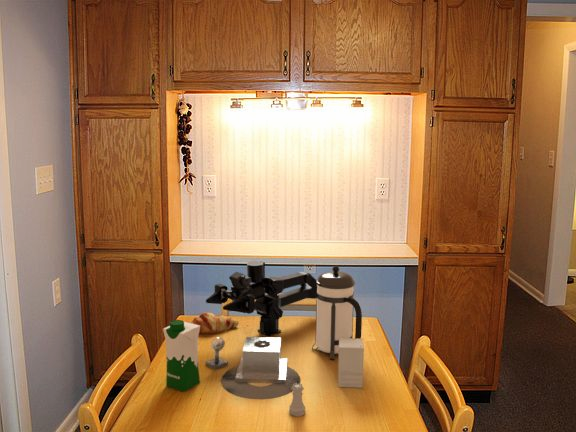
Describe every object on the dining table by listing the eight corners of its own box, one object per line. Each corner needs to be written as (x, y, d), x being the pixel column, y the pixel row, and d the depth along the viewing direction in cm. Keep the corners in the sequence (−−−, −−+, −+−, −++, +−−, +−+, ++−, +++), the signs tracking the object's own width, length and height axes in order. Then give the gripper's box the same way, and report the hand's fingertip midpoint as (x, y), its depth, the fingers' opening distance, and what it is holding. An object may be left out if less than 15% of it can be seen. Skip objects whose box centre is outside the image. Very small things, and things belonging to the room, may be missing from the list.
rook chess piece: (288, 408, 151) (288, 381, 149) (304, 408, 151) (304, 380, 150) (289, 417, 146) (289, 389, 145) (306, 416, 147) (306, 388, 145)
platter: (265, 356, 184) (265, 355, 184) (317, 381, 167) (317, 380, 167) (205, 378, 168) (205, 377, 168) (255, 408, 150) (255, 408, 150)
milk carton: (161, 386, 162) (159, 321, 159) (182, 374, 170) (180, 312, 166) (184, 394, 158) (183, 328, 154) (204, 382, 165) (203, 318, 162)
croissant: (236, 333, 213) (235, 312, 215) (242, 329, 203) (240, 308, 206) (181, 337, 206) (180, 316, 209) (183, 334, 197) (182, 312, 200)
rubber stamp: (218, 360, 180) (218, 332, 178) (227, 365, 177) (227, 336, 175) (205, 364, 177) (205, 336, 175) (215, 370, 173) (214, 341, 171)
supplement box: (362, 377, 170) (363, 338, 167) (362, 388, 162) (364, 348, 160) (337, 375, 170) (338, 337, 168) (337, 387, 163) (338, 346, 161)
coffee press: (307, 359, 182) (308, 271, 176) (316, 340, 197) (317, 259, 192) (359, 365, 178) (363, 275, 172) (365, 346, 193) (368, 262, 188)
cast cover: (241, 360, 180) (241, 334, 178) (287, 361, 179) (287, 335, 178) (235, 382, 165) (235, 353, 164) (285, 383, 165) (285, 354, 163)
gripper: (231, 265, 200) (196, 275, 189) (267, 276, 187) (231, 287, 176) (233, 295, 202) (198, 306, 191) (268, 307, 189) (232, 320, 178)
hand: (214, 304), depth 184 cm, fingers open, 9 cm apart
